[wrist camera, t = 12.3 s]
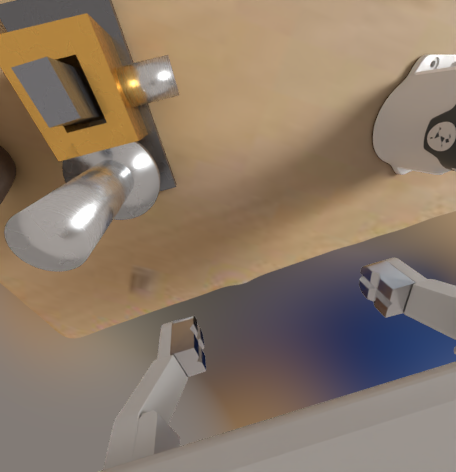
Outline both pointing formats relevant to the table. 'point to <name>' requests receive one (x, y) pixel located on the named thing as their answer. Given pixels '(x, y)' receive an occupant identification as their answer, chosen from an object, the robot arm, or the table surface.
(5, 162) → the plant pot
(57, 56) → the gold block fixture
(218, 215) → the table surface
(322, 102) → the table surface
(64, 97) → the grey square rod
